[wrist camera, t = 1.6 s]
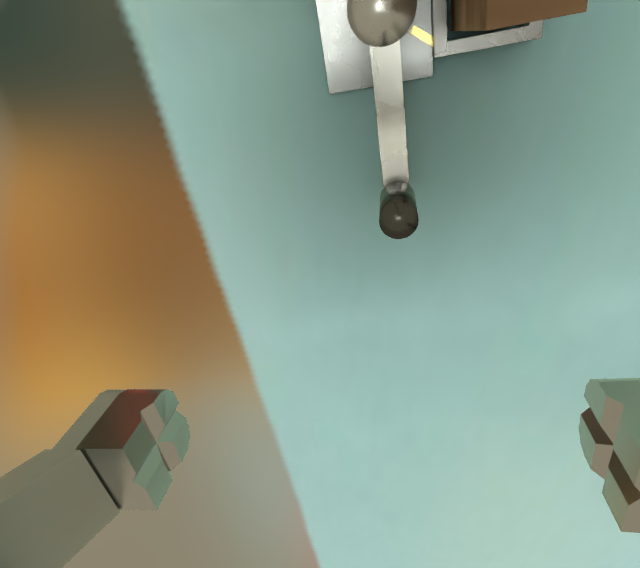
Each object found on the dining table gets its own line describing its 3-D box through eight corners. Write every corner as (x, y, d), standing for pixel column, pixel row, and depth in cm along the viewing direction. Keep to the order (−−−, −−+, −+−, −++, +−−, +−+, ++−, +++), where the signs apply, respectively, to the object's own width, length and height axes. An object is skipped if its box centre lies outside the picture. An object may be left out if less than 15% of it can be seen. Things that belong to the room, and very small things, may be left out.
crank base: (309, -56, 27) (298, -68, 24) (439, -90, 25) (446, -107, 22) (330, 92, 31) (324, 99, 28) (442, 73, 30) (449, 77, 27)
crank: (344, -25, 24) (333, -39, 19) (413, -41, 23) (420, -60, 19) (371, 209, 32) (368, 241, 27) (425, 203, 31) (432, 235, 26)
